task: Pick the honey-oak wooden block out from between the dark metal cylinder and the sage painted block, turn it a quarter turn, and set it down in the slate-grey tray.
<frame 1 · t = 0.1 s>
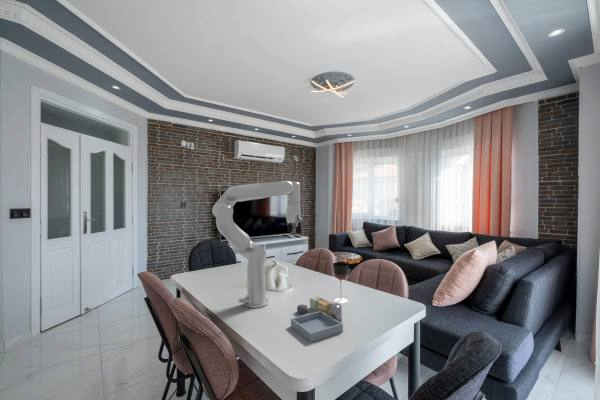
hand: (294, 232, 158), 37 cm above the table, tool pointing down, fingers open, 9 cm apart
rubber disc: (302, 312, 134), on the table
wineglass: (340, 300, 149), on the table
tray: (316, 328, 117), on the table
oak block: (325, 314, 131), on the table
sage block: (316, 308, 139), on the table
metal cylinder: (336, 321, 124), on the table
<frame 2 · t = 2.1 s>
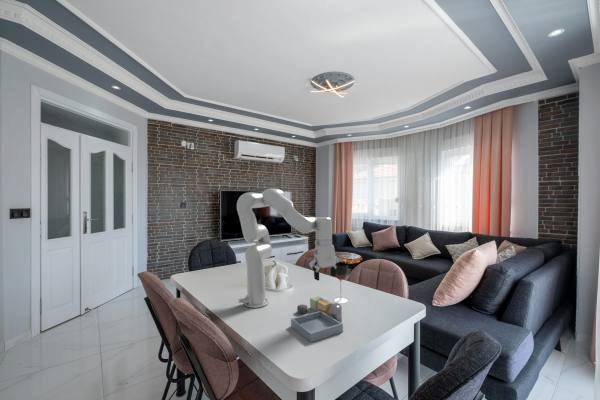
hand: (325, 278, 131), 18 cm above the table, tool pointing down, fingers open, 9 cm apart
nothing on the table moved.
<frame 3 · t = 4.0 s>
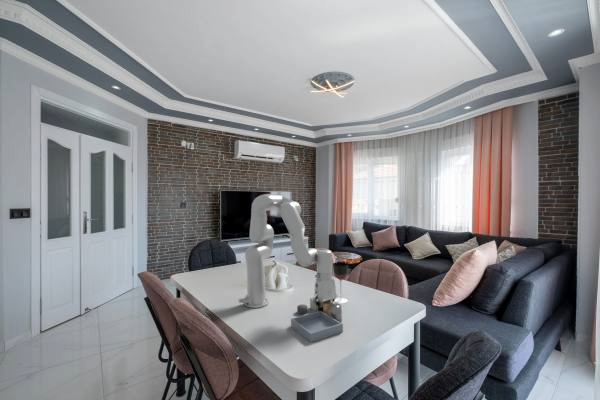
hand: (325, 313, 131), 1 cm above the table, tool pointing down, fingers closed on oak block, 4 cm apart
oak block: (325, 314, 131), on the table, touching gripper
everything else where it was.
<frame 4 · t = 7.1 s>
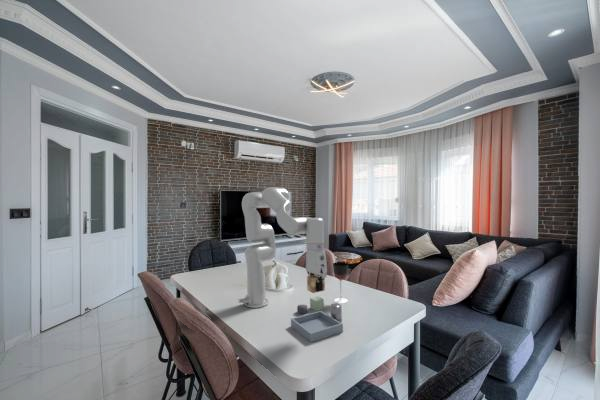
hand: (315, 288, 117), 17 cm above the table, tool pointing down, fingers closed on oak block, 4 cm apart
oak block: (316, 290, 117), point 17 cm above the table, touching gripper
everything else where it was.
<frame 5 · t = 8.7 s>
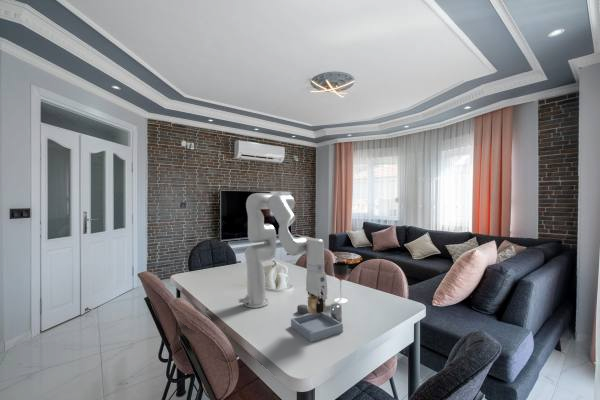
hand: (316, 309, 116), 8 cm above the table, tool pointing down, fingers closed on oak block, 4 cm apart
oak block: (316, 311, 116), point 8 cm above the table, touching gripper
everything else where it was.
when the fingers open (3 cm above the table, at t = 10.1 s): oak block drops 2 cm, resting on tray.
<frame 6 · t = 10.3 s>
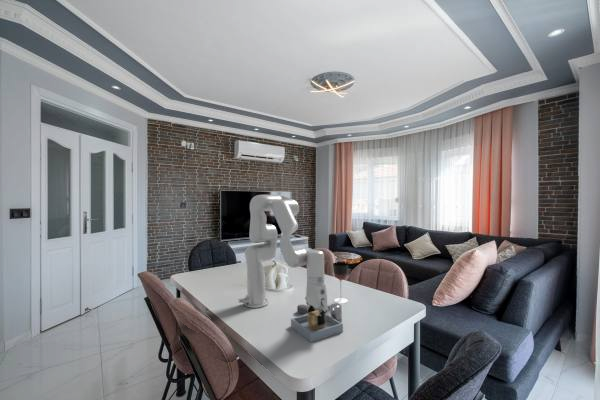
hand: (316, 320, 117), 4 cm above the table, tool pointing down, fingers open, 6 cm apart
oak block: (316, 327, 117), point 1 cm above the table, touching tray
everything else where it was.
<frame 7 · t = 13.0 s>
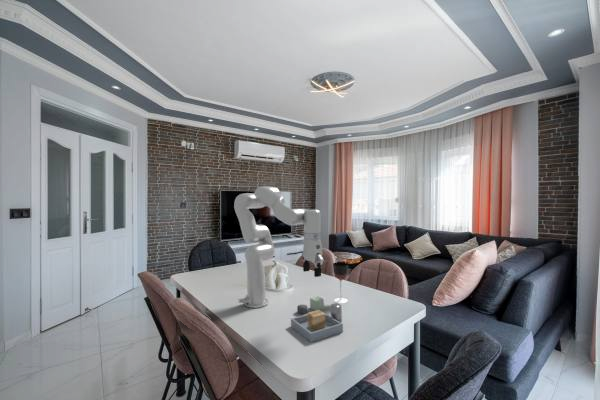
hand: (311, 273, 125), 22 cm above the table, tool pointing down, fingers open, 9 cm apart
nothing on the table moved.
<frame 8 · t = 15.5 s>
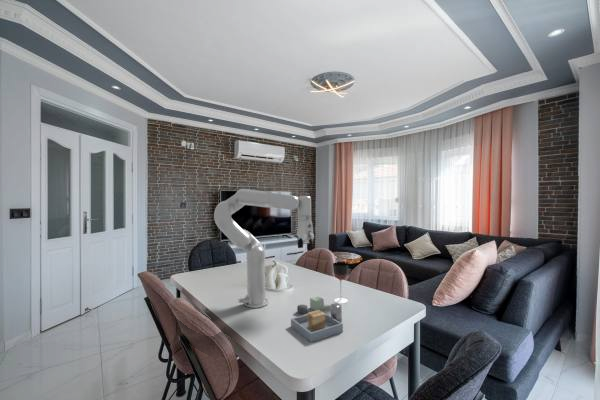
hand: (304, 249, 150), 28 cm above the table, tool pointing down, fingers open, 9 cm apart
nothing on the table moved.
at the end: oak block inside the target area on the tray (0.1 cm from its centre), point 0.8 cm above the tray's base; oak block tilted 0°; the gripper is holding nothing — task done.
